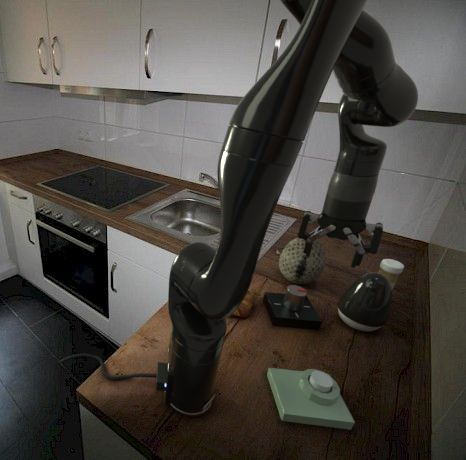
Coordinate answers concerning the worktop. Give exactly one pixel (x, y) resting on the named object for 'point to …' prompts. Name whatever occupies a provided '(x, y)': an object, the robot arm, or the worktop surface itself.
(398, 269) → the sprinkles bottle
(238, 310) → the croissant
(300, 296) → the lock dial
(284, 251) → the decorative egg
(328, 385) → the push button
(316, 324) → the lock panel
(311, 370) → the push button base
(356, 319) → the black rounded dome
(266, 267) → the worktop surface
